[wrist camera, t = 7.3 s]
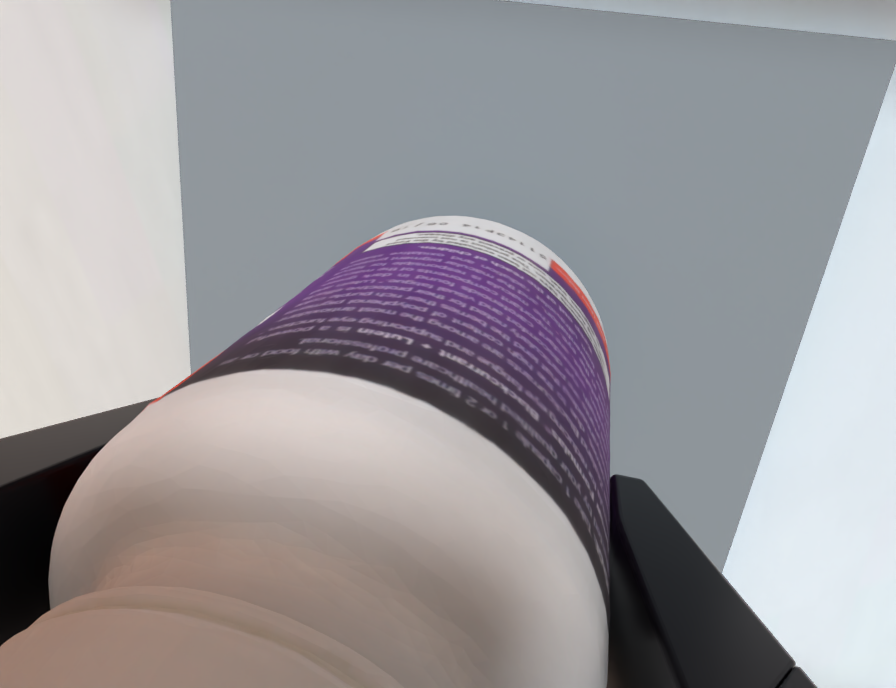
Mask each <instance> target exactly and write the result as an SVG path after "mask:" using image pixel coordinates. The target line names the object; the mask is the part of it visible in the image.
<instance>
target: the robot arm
mask: <svg viewBox="0 0 896 688" xmlns="http://www.w3.org/2000/svg"><path fill="white" fill-rule="evenodd" d="M159 398H160V397H159ZM156 399H158V398H155V399H152V400H148V401H144V402H140V403H136V404H132V405H128V406H125V407H121V408H117V409H113V410H109V411H105V412H102V413H98V414H94V415H90V416H86V417H82V418H78V419H75V420H71V421H67V422H63V423H59V424H55V425H51V426H48V427H44V428H40V429H36V430H32V431H28V432H25V433H21V434H17V435H13V436H9V437H5V438H1V439H0V646H1V645H2V644H3V643H5V642H6V641H7V640H9V639H10V638H12V637H13V636H14V635H16V634H18V633H20V632H22V631H24V630H26V629H27V628H28V627H29V626H30V625H32V624H33V623H34V622H35V621H36V620H37V619H38V618H39V617H41V616H42V615H43V614H45V613H47V612H48V611H50V610H51V609H50V599H49V584H48V578H49V567H50V556H51V548H52V543H53V538H54V534H55V531H56V528H57V524H58V521H59V518H60V516H61V513H62V510H63V507H64V505H65V503H66V501H67V499H68V497H69V495H70V493H71V492H72V490H73V488H74V486H75V484H76V482H77V481H78V479H79V478H80V476H81V475H82V473H83V472H84V471H85V469H86V468H87V466H88V465H89V463H90V462H91V461H92V459H93V458H94V457H95V456H96V455H97V454H98V453H99V451H100V450H101V449H102V448H103V447H104V446H105V445H106V444H107V443H108V442H109V441H110V440H111V439H112V438H113V437H114V436H115V435H116V434H117V433H119V432H120V431H121V430H122V429H124V428H125V427H126V426H127V425H128V424H130V423H131V422H132V421H133V420H134V419H135V418H136V417H137V416H138V415H139V414H140V413H141V412H142V411H143V410H144V409H145V408H146V407H147V405H148V404H150V403H151V402H153V401H154V400H156ZM795 665H796V663H795V661H794V659H793V658H792V657H791V656H790V655H789V654H788V652H787V651H786V650H785V649H784V648H783V646H782V645H781V644H780V643H779V642H778V640H777V639H776V638H775V637H774V636H773V634H772V633H771V632H770V631H769V630H768V628H767V627H766V626H765V625H764V624H763V622H762V621H761V620H760V619H759V618H758V616H757V615H756V614H755V613H754V612H753V610H752V609H751V608H750V607H749V606H748V604H747V603H746V602H745V601H744V600H743V598H742V597H741V596H740V595H739V594H738V592H737V591H736V590H735V589H734V588H733V586H732V585H731V584H730V583H729V582H728V580H727V579H726V578H725V577H724V576H723V574H722V573H721V572H720V571H719V570H718V568H717V567H716V566H715V565H714V564H713V562H712V561H711V560H710V559H709V558H708V557H707V555H706V554H705V553H704V552H703V551H702V549H701V548H700V547H699V546H698V545H697V543H696V542H695V541H694V540H693V539H692V537H691V536H690V535H689V534H688V533H687V531H686V530H685V529H684V528H683V527H682V525H681V524H680V523H679V522H678V521H677V519H676V518H675V517H674V516H673V515H672V513H671V512H670V511H669V510H668V509H667V507H666V506H665V505H664V504H663V503H662V501H661V500H660V499H659V498H658V497H657V495H656V494H655V493H654V492H653V491H652V489H651V488H650V487H649V486H648V485H647V483H646V482H645V481H643V480H642V479H639V478H634V477H629V476H624V475H619V474H614V475H612V476H611V477H610V625H609V644H608V678H607V688H817V687H816V685H815V684H814V683H813V682H812V681H811V679H810V678H809V677H808V676H807V675H806V673H805V672H804V671H803V670H802V669H801V668H800V667H797V666H796V667H795Z"/></svg>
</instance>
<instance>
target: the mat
mask: <svg viewBox="0 0 896 688" xmlns="http://www.w3.org/2000/svg"><path fill="white" fill-rule="evenodd" d="M170 1H171V19H172V37H173V55H174V74H175V92H176V110H177V128H178V146H179V164H180V182H181V200H182V219H183V237H184V255H185V273H186V291H187V309H188V327H189V345H190V364H191V374H193V373H194V372H195V371H197V370H198V369H199V368H201V367H202V366H203V365H205V364H206V363H208V362H209V361H210V360H212V359H213V358H215V357H216V356H217V355H219V354H220V353H222V352H223V351H224V350H226V349H227V348H228V347H229V346H231V345H232V344H233V343H235V342H236V341H237V340H238V339H240V338H241V337H242V336H244V335H245V334H246V333H248V332H249V331H251V330H252V329H253V328H255V327H256V326H257V325H258V324H260V323H261V322H262V321H263V320H264V319H266V318H267V317H268V316H270V315H271V314H273V313H274V312H275V311H276V310H277V309H278V308H280V307H281V306H283V305H284V304H285V303H287V302H288V301H289V300H291V299H292V298H293V297H295V296H296V295H297V294H298V293H300V292H301V291H302V290H303V289H305V288H306V287H307V286H308V285H310V284H311V283H312V282H313V281H315V280H316V279H317V278H319V277H320V276H321V275H323V274H324V273H325V272H326V271H328V270H329V269H330V268H331V267H332V266H334V265H335V264H336V263H337V262H339V261H340V260H341V259H342V258H344V257H345V256H346V255H348V254H349V253H350V252H352V251H353V250H354V249H356V248H357V247H359V246H360V245H362V244H364V243H365V242H367V241H369V240H370V239H372V238H374V237H375V236H377V235H379V234H380V233H382V232H384V231H386V230H389V229H391V228H393V227H395V226H397V225H400V224H403V223H406V222H409V221H414V220H418V219H422V218H428V217H435V216H467V217H473V218H479V219H485V220H489V221H493V222H497V223H500V224H503V225H505V226H508V227H511V228H513V229H515V230H518V231H520V232H522V233H524V234H526V235H528V236H530V237H532V238H533V239H535V240H537V241H539V242H540V243H542V244H543V245H544V246H546V247H547V248H548V249H550V250H551V251H552V252H553V253H555V254H556V255H557V256H558V257H559V258H560V259H562V260H563V262H564V263H565V264H566V265H567V266H568V267H569V268H570V269H571V270H572V271H573V272H574V274H575V275H576V276H577V277H578V279H579V280H580V281H581V283H582V284H583V286H584V287H585V289H586V290H587V292H588V294H589V295H590V297H591V299H592V301H593V303H594V305H595V307H596V309H597V311H598V313H599V316H600V319H601V322H602V324H603V328H604V332H605V337H606V341H607V349H608V355H609V363H610V372H611V382H610V477H611V476H612V475H614V474H619V475H624V476H629V477H634V478H639V479H642V480H643V481H645V482H646V483H647V485H648V486H649V487H650V488H651V489H652V491H653V492H654V493H655V494H656V495H657V497H658V498H659V499H660V500H661V501H662V503H663V504H664V505H665V506H666V507H667V509H668V510H669V511H670V512H671V513H672V515H673V516H674V517H675V518H676V519H677V521H678V522H679V523H680V524H681V525H682V527H683V528H684V529H685V530H686V531H687V533H688V534H689V535H690V536H691V537H692V539H693V540H694V541H695V542H696V543H697V545H698V546H699V547H700V548H701V549H702V551H703V552H704V553H705V554H706V555H707V557H708V558H709V559H710V560H711V561H712V562H713V564H714V565H715V566H716V567H717V568H718V570H719V571H720V572H721V573H722V571H723V568H724V565H725V562H726V559H727V556H728V553H729V550H730V547H731V544H732V541H733V538H734V536H735V533H736V530H737V527H738V524H739V521H740V518H741V515H742V512H743V509H744V506H745V503H746V500H747V497H748V495H749V492H750V489H751V486H752V483H753V480H754V477H755V474H756V471H757V468H758V465H759V462H760V459H761V456H762V454H763V451H764V448H765V445H766V442H767V439H768V436H769V433H770V430H771V427H772V424H773V421H774V418H775V415H776V413H777V410H778V407H779V404H780V401H781V398H782V395H783V392H784V389H785V386H786V383H787V380H788V377H789V374H790V372H791V369H792V366H793V363H794V360H795V357H796V354H797V351H798V348H799V345H800V342H801V339H802V336H803V333H804V331H805V328H806V325H807V322H808V319H809V316H810V313H811V310H812V307H813V304H814V301H815V298H816V295H817V292H818V290H819V287H820V284H821V281H822V278H823V275H824V272H825V269H826V266H827V263H828V260H829V257H830V254H831V251H832V249H833V246H834V243H835V240H836V237H837V234H838V231H839V228H840V225H841V222H842V219H843V216H844V213H845V210H846V208H847V205H848V202H849V199H850V196H851V193H852V190H853V187H854V184H855V181H856V178H857V175H858V172H859V169H860V167H861V164H862V161H863V158H864V155H865V152H866V149H867V146H868V143H869V140H870V137H871V134H872V131H873V128H874V126H875V123H876V120H877V117H878V114H879V111H880V108H881V105H882V102H883V99H884V96H885V93H886V90H887V87H888V85H889V82H890V79H891V76H892V73H893V70H894V67H895V64H896V41H893V40H883V39H874V38H864V37H854V36H844V35H834V34H825V33H815V32H805V31H795V30H785V29H775V28H766V27H756V26H746V25H736V24H726V23H717V22H707V21H697V20H687V19H677V18H667V17H658V16H648V15H638V14H628V13H618V12H609V11H599V10H589V9H579V8H569V7H559V6H550V5H540V4H530V3H520V2H510V1H501V0H170Z"/></svg>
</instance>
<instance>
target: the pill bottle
mask: <svg viewBox="0 0 896 688" xmlns="http://www.w3.org/2000/svg"><path fill="white" fill-rule="evenodd" d="M610 382H611V372H610V363H609V355H608V349H607V341H606V337H605V332H604V328H603V324H602V322H601V319H600V316H599V313H598V311H597V309H596V307H595V305H594V303H593V301H592V299H591V297H590V295H589V294H588V292H587V290H586V289H585V287H584V286H583V284H582V283H581V281H580V280H579V279H578V277H577V276H576V275H575V274H574V272H573V271H572V270H571V269H570V268H569V267H568V266H567V265H566V264H565V263H564V262H563V260H562V259H560V258H559V257H558V256H557V255H556V254H555V253H553V252H552V251H551V250H550V249H548V248H547V247H546V246H544V245H543V244H542V243H540V242H539V241H537V240H535V239H533V238H532V237H530V236H528V235H526V234H524V233H522V232H520V231H518V230H515V229H513V228H511V227H508V226H505V225H503V224H500V223H497V222H493V221H489V220H485V219H479V218H473V217H467V216H435V217H428V218H422V219H418V220H414V221H409V222H406V223H403V224H400V225H397V226H395V227H393V228H391V229H389V230H386V231H384V232H382V233H380V234H379V235H377V236H375V237H374V238H372V239H370V240H369V241H367V242H365V243H364V244H362V245H360V246H359V247H357V248H356V249H354V250H353V251H352V252H350V253H349V254H348V255H346V256H345V257H344V258H342V259H341V260H340V261H339V262H337V263H336V264H335V265H334V266H332V267H331V268H330V269H329V270H328V271H326V272H325V273H324V274H323V275H321V276H320V277H319V278H317V279H316V280H315V281H313V282H312V283H311V284H310V285H308V286H307V287H306V288H305V289H303V290H302V291H301V292H300V293H298V294H297V295H296V296H295V297H293V298H292V299H291V300H289V301H288V302H287V303H285V304H284V305H283V306H281V307H280V308H278V309H277V310H276V311H275V312H274V313H273V314H271V315H270V316H268V317H267V318H266V319H264V320H263V321H262V322H261V323H260V324H258V325H257V326H256V327H255V328H253V329H252V330H251V331H249V332H248V333H246V334H245V335H244V336H242V337H241V338H240V339H238V340H237V341H236V342H235V343H233V344H232V345H231V346H229V347H228V348H227V349H226V350H224V351H223V352H222V353H220V354H219V355H217V356H216V357H215V358H213V359H212V360H210V361H209V362H208V363H206V364H205V365H203V366H202V367H201V368H199V369H198V370H197V371H195V372H194V373H193V374H191V375H190V376H189V377H187V378H186V379H185V380H183V381H182V382H180V383H179V384H178V385H176V386H175V387H173V388H172V389H171V390H169V391H168V392H167V393H165V394H164V395H163V396H161V397H160V398H158V399H156V400H154V401H153V402H151V403H150V404H148V405H147V407H146V408H145V409H144V410H143V411H142V412H141V413H140V414H139V415H138V416H137V417H136V418H135V419H134V420H133V421H132V422H131V423H130V424H128V425H127V426H126V427H125V428H124V429H122V430H121V431H120V432H119V433H117V434H116V435H115V436H114V437H113V438H112V439H111V440H110V441H109V442H108V443H107V444H106V445H105V446H104V447H103V448H102V449H101V450H100V451H99V453H98V454H97V455H96V456H95V457H94V458H93V459H92V461H91V462H90V463H89V465H88V466H87V468H86V469H85V471H84V472H83V473H82V475H81V476H80V478H79V479H78V481H77V482H76V484H75V486H74V488H73V490H72V492H71V493H70V495H69V497H68V499H67V501H66V503H65V505H64V507H63V510H62V513H61V516H60V518H59V521H58V524H57V528H56V531H55V534H54V538H53V543H52V548H51V556H50V567H49V578H48V584H49V599H50V609H51V610H50V611H48V612H47V613H45V614H43V615H42V616H41V617H39V618H38V619H37V620H36V621H35V622H34V623H33V624H32V625H30V626H29V627H28V628H27V629H26V630H24V631H22V632H20V633H18V634H16V635H14V636H13V637H12V638H10V639H9V640H7V641H6V642H5V643H3V644H2V645H1V646H0V688H607V678H608V644H609V625H610Z"/></svg>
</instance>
